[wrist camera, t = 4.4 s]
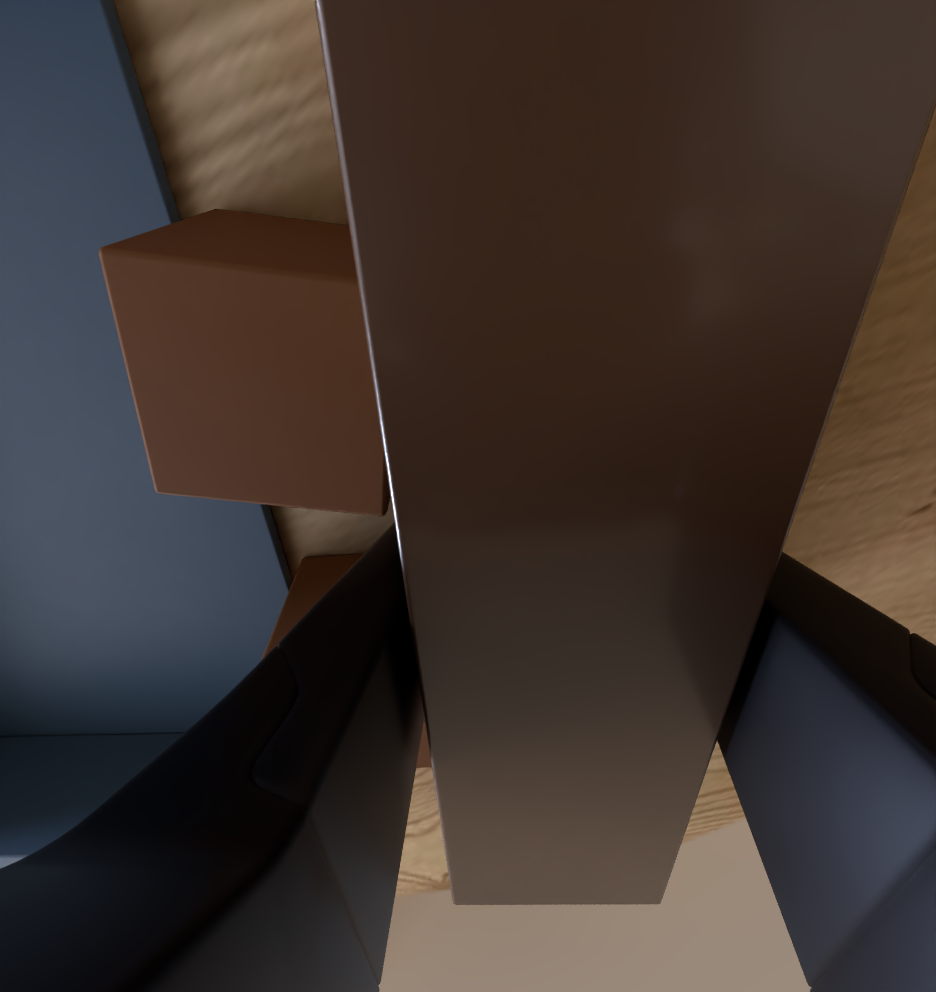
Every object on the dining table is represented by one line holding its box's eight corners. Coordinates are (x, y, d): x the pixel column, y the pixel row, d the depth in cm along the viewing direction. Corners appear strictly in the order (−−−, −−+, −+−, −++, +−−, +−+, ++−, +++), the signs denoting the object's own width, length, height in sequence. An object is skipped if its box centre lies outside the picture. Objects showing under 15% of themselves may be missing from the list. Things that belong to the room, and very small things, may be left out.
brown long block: (614, 703, 13) (661, 906, 10) (459, 706, 13) (452, 906, 10) (720, 34, 6) (1001, -66, 3) (397, 54, 6) (308, -15, 3)
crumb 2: (457, 645, 13) (452, 768, 11) (333, 651, 13) (299, 773, 11) (443, 547, 12) (433, 664, 9) (301, 556, 12) (253, 673, 9)
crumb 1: (409, 418, 10) (386, 518, 7) (236, 399, 10) (153, 495, 7) (420, 234, 8) (395, 283, 6) (213, 206, 8) (94, 246, 6)
